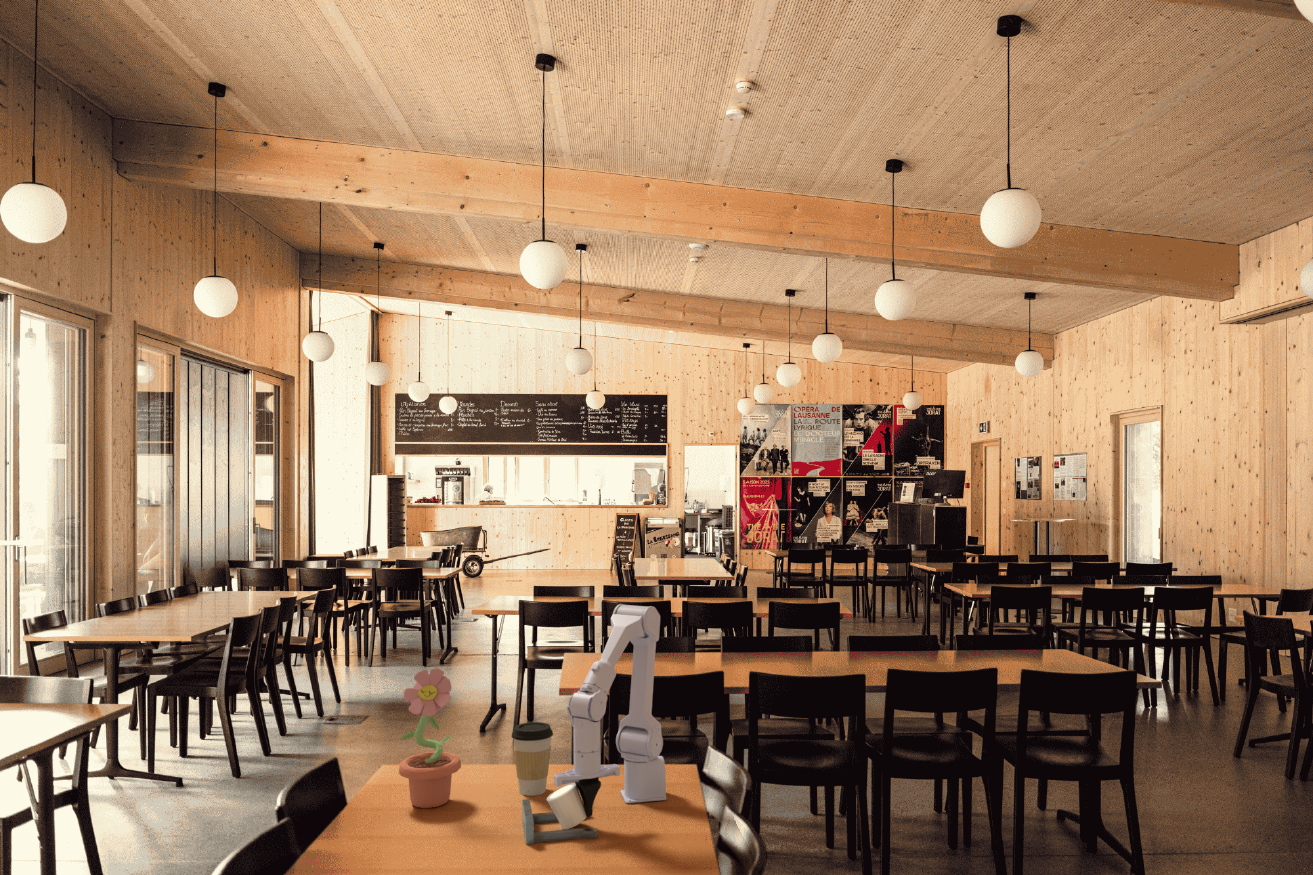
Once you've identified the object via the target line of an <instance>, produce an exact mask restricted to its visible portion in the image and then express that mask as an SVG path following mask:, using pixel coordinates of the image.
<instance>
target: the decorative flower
mask: <svg viewBox="0 0 1313 875" xmlns="http://www.w3.org/2000/svg"><path fill="white" fill-rule="evenodd" d="M413 680H414V681H415V684H414V686H413V687H411V688H409V687H407V688H405V689H404V691H403V700H404V701H405V702H406V703H408V702H410V705H409V707H408V711H409V712H410V713H412V714H413V715H420V714H421V717H420V719H419V721H418V724H417V727H416V729H415V731H411V730H410V731H408V732H406V733H404V734H403V735H402V736H401V737H400V740H401V741H406V740H411V739H412V738H414V739H415V742H416V743H417V744H418V745H419V746H421V747H423V748H430V749H434V751H426V752H420V753H416V754H413V755H410V756H408V757H406V758H405V759H403V760H402V761H401V762H400V763H399V766H398V775H400V777H403V778H406V779H408V786H409V797H410V798H409V799H410V803H411V805H413V806H415V807H416V808H419V807H420V808H419V809H433V808H437V807H441V806H443V805H445V804H446V803H447V802H448V801H449V799H450V797H451V789H452V775H453V774H455V773H457V772H458V771H459V770H460V769H461V768H462V760H461V759H460V757H459V756H458V755H457V754H455V753H453V752H448V751H444V750H443V749H444V748H443V744H444V743H446V742H448V741H449V740H450V738H451V737H452V736H451V735H448V736H446V737H444V738H443V739H442V740H440V741H437V740H435V739H428V738H424V736H423V735H424V731H425V729H426V726H427V724H428V721H429V723H430V725H431V726H432V727H433V728H434V729H435V730H438V731H439V730H440V727H439V724H438V722H437V720H436V719H435V717H433V716H434V715H436V714H437V713H438V712H440V711H441V710H442V709H443V708H445V707H446V706H447V705H448V704H449V702H450V701H451V697H452V696H451V695H450V692H451V691H452V683H451V681H450V678H448V677H447V676H446V675H445V671H444V670H443V669H439V668H433V669H430V671H429V673H428V670H427V669H423V670H420V671H418V672H417V673H416V674H415V675H414V677H413ZM432 807H433V808H432Z"/></svg>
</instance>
